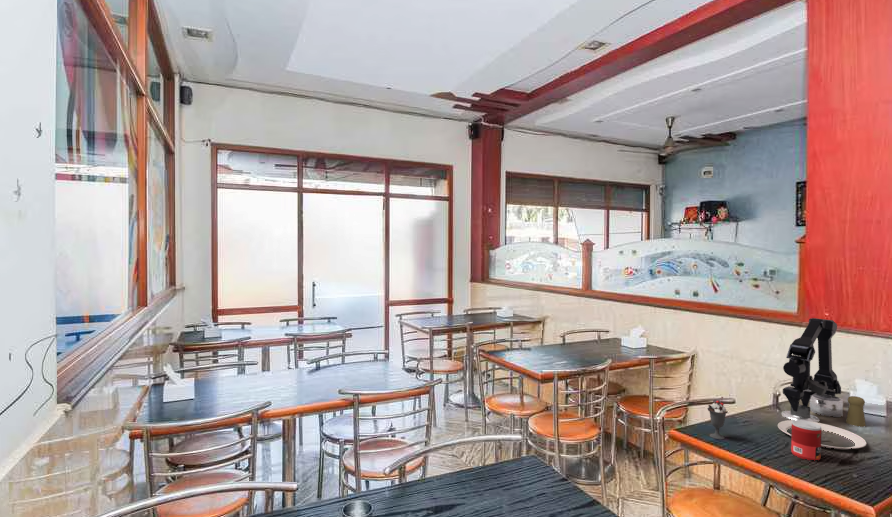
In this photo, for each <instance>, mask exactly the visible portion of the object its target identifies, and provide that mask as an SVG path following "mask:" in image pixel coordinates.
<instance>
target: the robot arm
mask: <svg viewBox="0 0 892 517" xmlns="http://www.w3.org/2000/svg"><path fill="white" fill-rule="evenodd" d="M837 330H838V324H837V323H836V322H835V320H832V319H824V318H817V317H816V318H814V317H811V318H809V319H808V324H807V325H806V327H805V329H804V330H803V332H802V334H801V336H800V337H799V338H798V337H797V338H795V339H794V340H793V341H792V343H791V344H790V345H789V348H788V351H787V354H786V359H788V362H785V363H784V364H783V367H782V369H783V371H784V373H785V374H786V375H787V376H790V377H791V378H792V382H791V383H790V386H786V387H784V388H782V394H783V396H785V397H786V399H787V401H788V403H789V404H790V408H791V407H792V408H793V410H794V411H795V412H797V410H798V406H799V404H800V401H801V403H802V404H801V405H804V406H808V405H810V399H811V396H812V395H814V394H815V393H816V394H818V395H823V394H826V395H832V396H835V397H836V395H840V394H842V387H841V384H840V382H839V380H838V375H837V374H836V372H835V371H834V370H833V358H832V356H833V354H832V338H833V337H834V336H835V335H836V333H837ZM816 341H817V355H818V356H817V357H818V370H817V371H816V372H815V374H814V375H813V376H812V375H811V362H812V361H813V359H814V357H815V355H816V349H815V347H814V344H815V343H816ZM808 407H809V406H808Z"/></svg>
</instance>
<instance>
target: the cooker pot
mask: <svg viewBox="0 0 892 517" xmlns="http://www.w3.org/2000/svg"><path fill="white" fill-rule="evenodd" d="M809 407H810V412H811V413H814V414H816V413H817V415H820V414H821V415H820V416H824V415H826V416H825V417H830V416H833V417H832V418H841V416H842V417H843V416H844V414H843V413H844V399H843V398H841V397H838V396H836V395H835V396H832V395H826V394H823V395H818V394H816V393H815V394H814V395H812V396H811V399H810V401H809Z"/></svg>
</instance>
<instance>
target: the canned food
mask: <svg viewBox="0 0 892 517" xmlns="http://www.w3.org/2000/svg"><path fill="white" fill-rule="evenodd" d="M790 430H791V431H790V432H791V433H790V434H791V436H790V437H791V438H790V440H791V441H790V451H791V454H792V455H793V456H795V457H796V456H797V458H799V459H802V460H805V459H807V460H806V461H810V460H814V461H813V462H816V461H815V460H818V461H820V460H821V456H822V447H821V444H822V435H823V434H822V432H823V430H822V429H821V426H820V425H818V424H816V423H813V422H809V421H804V420H793V421H792V426H791V429H790Z"/></svg>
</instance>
